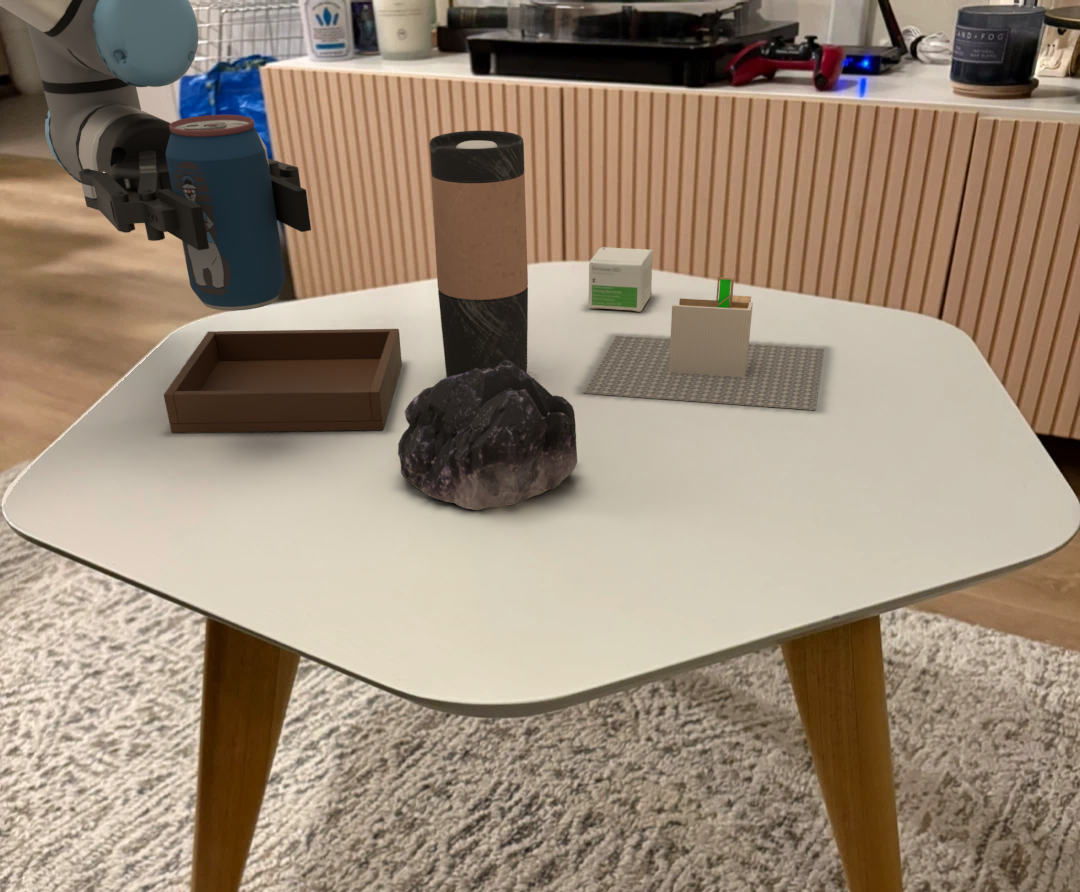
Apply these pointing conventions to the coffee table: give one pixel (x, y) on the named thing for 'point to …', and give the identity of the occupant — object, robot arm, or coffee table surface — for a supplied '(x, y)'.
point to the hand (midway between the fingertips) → (252, 219)
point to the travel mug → (480, 248)
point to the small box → (620, 278)
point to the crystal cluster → (488, 438)
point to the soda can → (228, 210)
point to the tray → (286, 381)
